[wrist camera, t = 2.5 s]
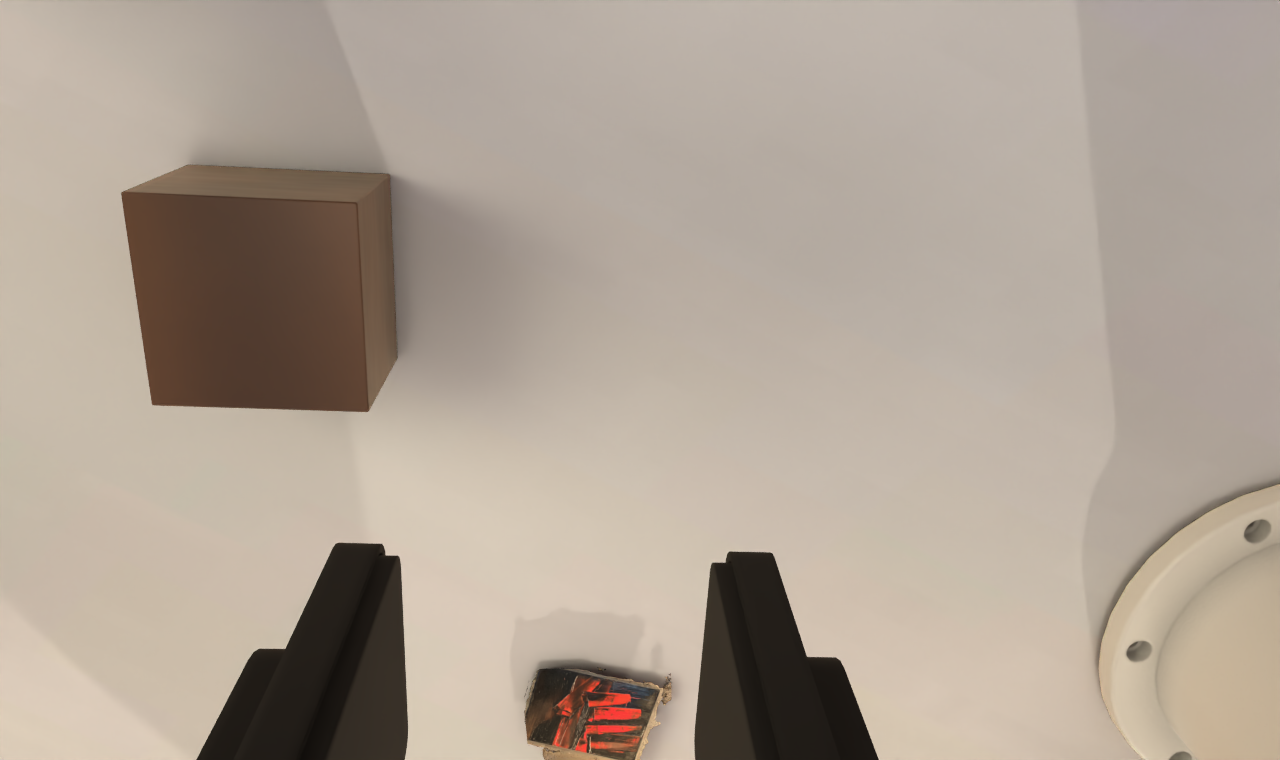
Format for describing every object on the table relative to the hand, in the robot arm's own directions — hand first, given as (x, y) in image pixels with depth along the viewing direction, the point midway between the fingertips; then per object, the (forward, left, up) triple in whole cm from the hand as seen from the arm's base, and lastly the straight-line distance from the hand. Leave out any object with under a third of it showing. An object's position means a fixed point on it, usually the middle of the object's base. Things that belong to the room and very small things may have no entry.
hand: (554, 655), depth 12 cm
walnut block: (+8, 0, -17) cm, 19 cm away
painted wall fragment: (-1, +16, -17) cm, 24 cm away
